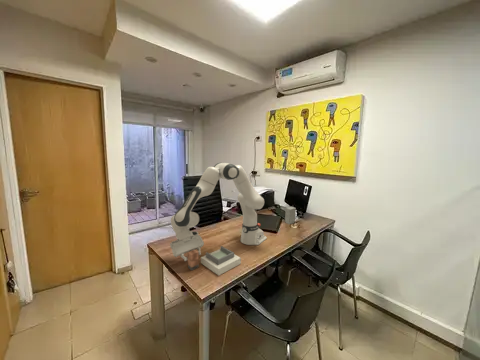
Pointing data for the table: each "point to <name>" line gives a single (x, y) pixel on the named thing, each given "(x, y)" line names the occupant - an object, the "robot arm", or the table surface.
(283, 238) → the table surface
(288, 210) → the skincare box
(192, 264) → the block
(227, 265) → the bay dock
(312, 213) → the table surface
